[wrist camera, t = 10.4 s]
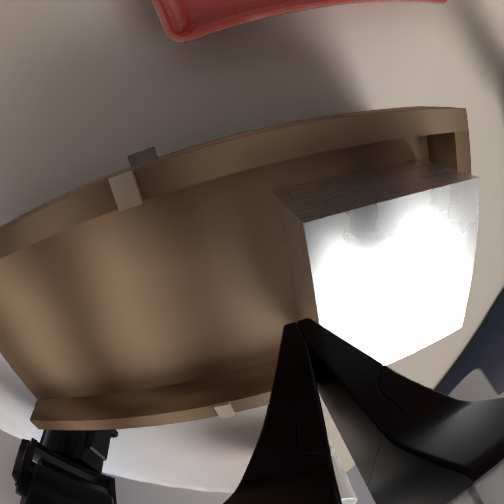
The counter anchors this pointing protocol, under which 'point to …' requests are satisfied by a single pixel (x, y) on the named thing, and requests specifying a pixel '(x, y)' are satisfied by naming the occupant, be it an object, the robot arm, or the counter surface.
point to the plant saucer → (231, 13)
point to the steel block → (382, 253)
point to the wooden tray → (181, 269)
